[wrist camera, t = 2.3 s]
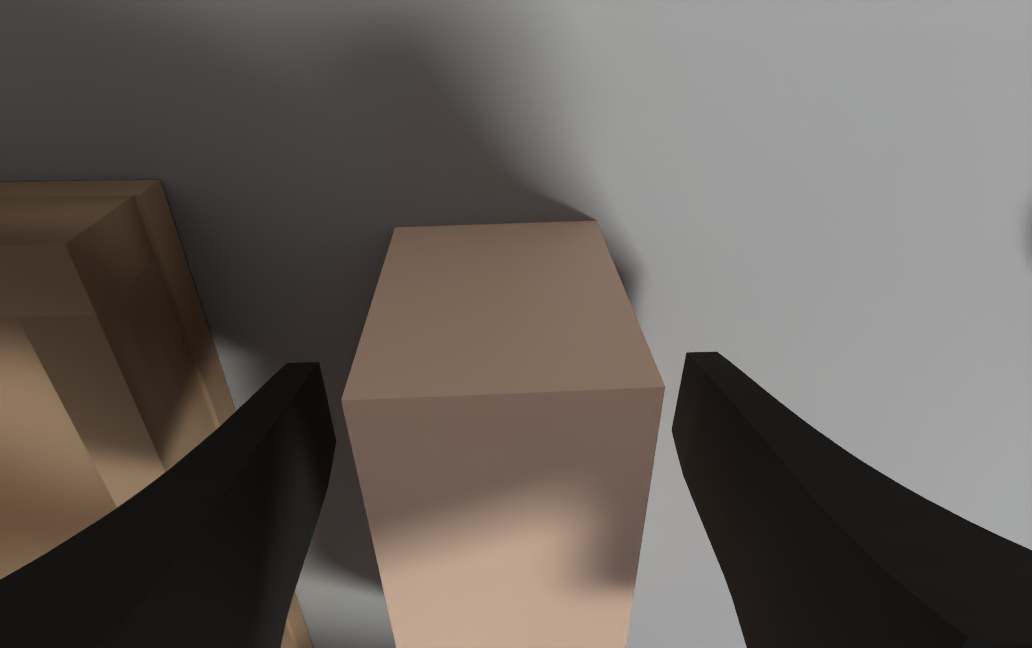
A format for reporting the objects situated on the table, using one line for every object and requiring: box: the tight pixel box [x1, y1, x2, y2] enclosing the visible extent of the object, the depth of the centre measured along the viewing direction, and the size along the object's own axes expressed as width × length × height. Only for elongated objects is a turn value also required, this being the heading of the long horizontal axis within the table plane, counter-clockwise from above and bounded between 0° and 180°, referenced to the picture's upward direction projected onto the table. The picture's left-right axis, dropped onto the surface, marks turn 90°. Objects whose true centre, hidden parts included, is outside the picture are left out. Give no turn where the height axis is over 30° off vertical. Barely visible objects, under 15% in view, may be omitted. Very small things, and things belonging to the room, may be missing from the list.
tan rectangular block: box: [341, 221, 665, 648], centre depth 13 cm, size 13×4×6 cm, turn 1°
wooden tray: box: [0, 180, 313, 648], centre depth 14 cm, size 18×8×3 cm, turn 0°
